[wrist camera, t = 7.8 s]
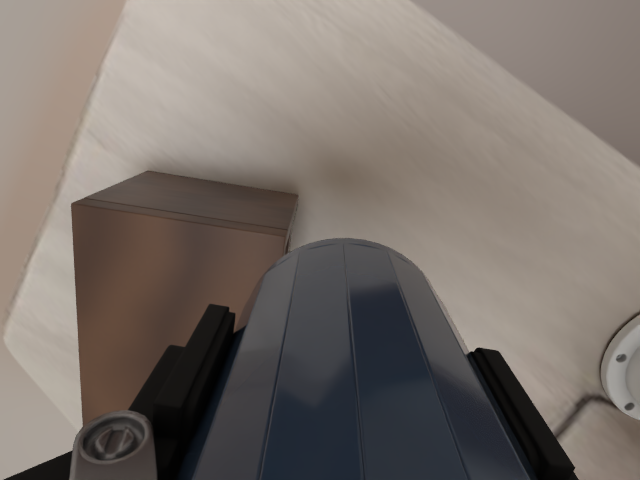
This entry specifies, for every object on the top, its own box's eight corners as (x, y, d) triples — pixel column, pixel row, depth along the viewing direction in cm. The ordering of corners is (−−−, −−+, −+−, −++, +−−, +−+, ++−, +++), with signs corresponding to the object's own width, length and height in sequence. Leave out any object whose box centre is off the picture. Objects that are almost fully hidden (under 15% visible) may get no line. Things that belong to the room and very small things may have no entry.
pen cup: (466, 256, 13) (732, 576, 4) (413, 420, 15) (522, 842, 7) (257, 220, 13) (110, 485, 4) (235, 392, 15) (110, 793, 6)
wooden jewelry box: (298, 194, 32) (286, 236, 23) (273, 371, 38) (255, 462, 29) (146, 170, 32) (70, 202, 23) (144, 352, 38) (82, 438, 28)
